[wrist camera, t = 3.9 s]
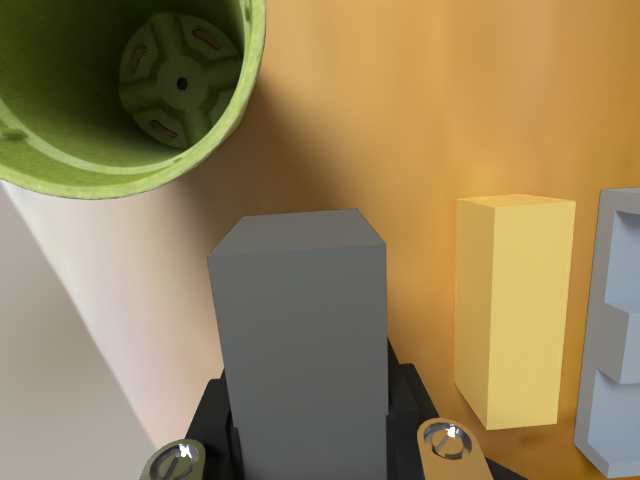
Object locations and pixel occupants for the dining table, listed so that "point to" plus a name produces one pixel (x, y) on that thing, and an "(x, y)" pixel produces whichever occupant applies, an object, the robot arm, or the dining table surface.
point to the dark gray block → (305, 343)
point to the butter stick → (511, 306)
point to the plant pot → (120, 90)
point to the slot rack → (613, 341)
